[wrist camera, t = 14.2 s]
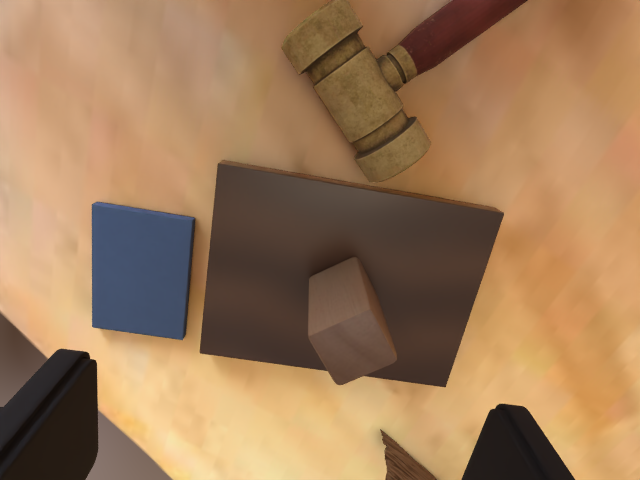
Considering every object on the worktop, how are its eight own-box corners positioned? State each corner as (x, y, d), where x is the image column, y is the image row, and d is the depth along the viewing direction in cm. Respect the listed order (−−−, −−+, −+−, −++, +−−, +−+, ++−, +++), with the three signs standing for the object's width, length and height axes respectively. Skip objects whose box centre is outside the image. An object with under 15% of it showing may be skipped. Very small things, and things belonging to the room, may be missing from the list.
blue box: (97, 201, 29) (91, 204, 29) (195, 217, 30) (192, 220, 29) (96, 322, 33) (91, 327, 32) (185, 334, 33) (182, 340, 32)
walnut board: (222, 159, 29) (217, 163, 27) (495, 207, 30) (504, 213, 29) (204, 342, 33) (199, 353, 32) (440, 375, 35) (445, 387, 34)
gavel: (634, -234, 20) (698, -32, 22) (571, -171, 24) (632, -9, 27) (278, 38, 22) (378, 190, 25) (280, 51, 26) (364, 178, 29)
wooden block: (330, 318, 31) (336, 390, 24) (306, 276, 30) (305, 336, 22) (379, 297, 31) (400, 363, 23) (356, 252, 29) (371, 307, 22)
